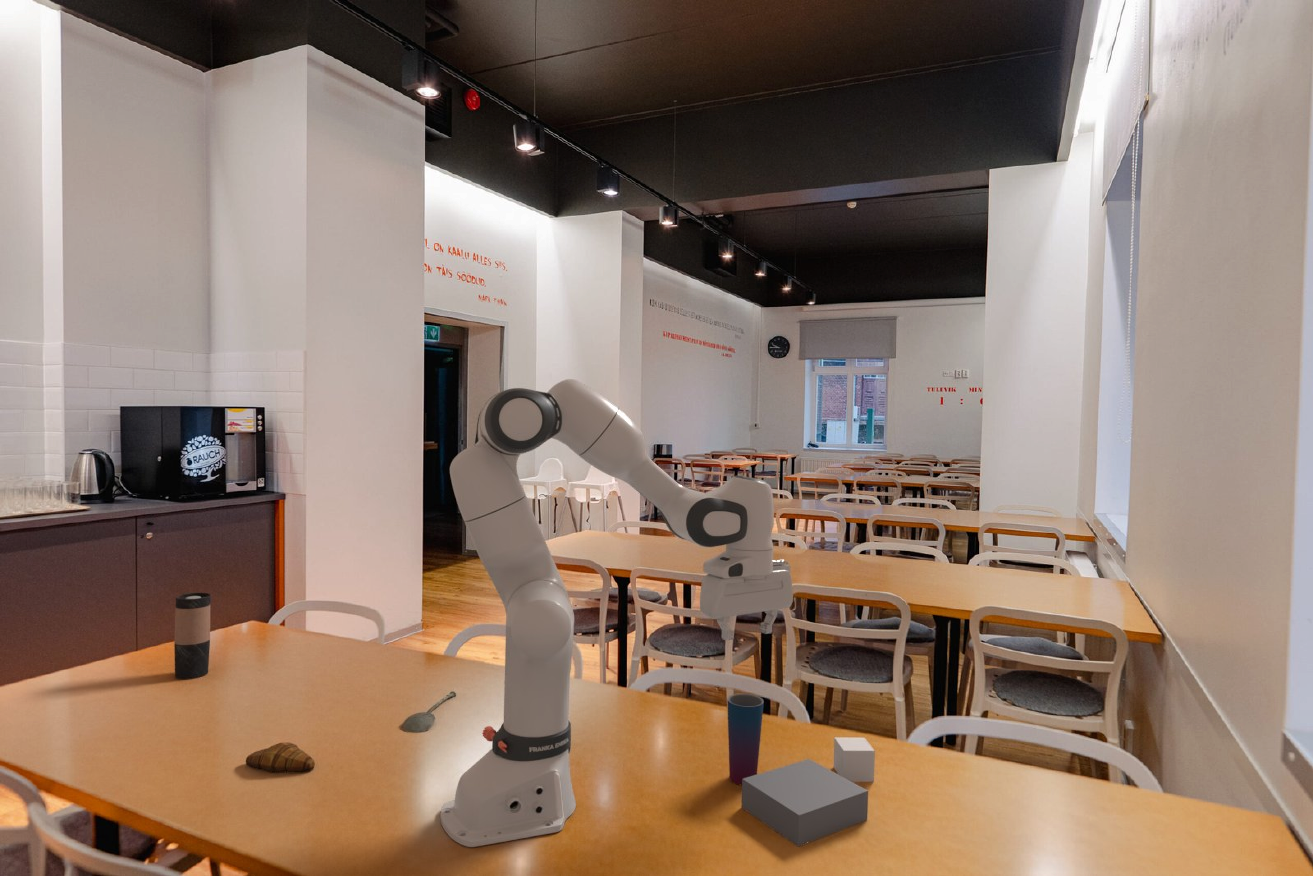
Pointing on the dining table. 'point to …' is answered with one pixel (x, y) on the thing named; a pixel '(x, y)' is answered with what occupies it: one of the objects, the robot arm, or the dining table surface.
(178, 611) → the travel mug
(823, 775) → the plinth
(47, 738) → the dining table surface
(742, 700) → the cup
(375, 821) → the dining table surface
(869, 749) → the white cube
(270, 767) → the croissant
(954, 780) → the dining table surface
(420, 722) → the soupspoon
